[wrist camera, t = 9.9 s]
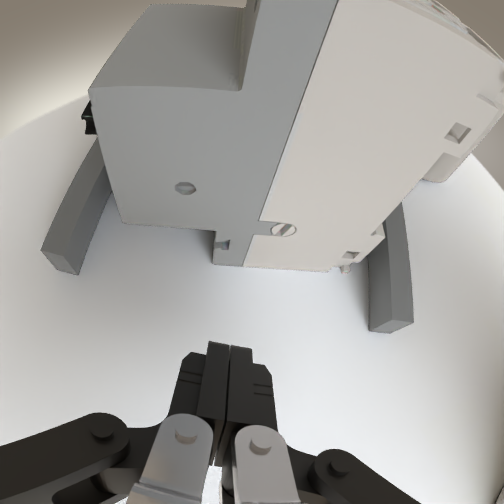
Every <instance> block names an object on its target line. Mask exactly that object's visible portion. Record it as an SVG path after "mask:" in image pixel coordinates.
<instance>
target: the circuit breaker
mask: <svg viewBox="0 0 504 504" xmlns="http://www.w3.org/2000/svg"><path fill="white" fill-rule="evenodd" d="M503 86H504V60H503V59H502V58H501V57H500V56H499V55H498V54H497V53H496V52H495V51H494V50H493V49H492V48H491V47H490V46H489V45H488V44H487V43H486V42H485V41H484V40H483V39H482V38H481V37H480V36H478V35H477V34H476V33H475V32H474V31H473V30H472V29H471V28H469V27H468V26H466V25H464V24H463V23H461V22H460V19H459V18H458V17H456V16H455V15H454V14H453V13H451V12H450V11H449V10H448V9H446V8H445V7H444V6H442V5H441V4H440V3H438V2H437V1H436V0H247V4H246V7H244V8H237V7H226V6H214V5H196V4H151V5H150V6H149V7H148V8H147V9H146V11H145V12H144V13H143V14H142V15H141V17H140V18H139V19H138V20H137V22H136V23H135V24H134V25H133V26H132V28H131V29H130V30H129V32H128V33H127V34H126V36H125V37H124V38H123V39H122V41H121V42H120V43H119V45H118V46H117V47H116V49H115V50H114V52H113V53H112V55H111V56H110V57H109V59H108V60H107V62H106V63H105V64H104V66H103V67H102V69H101V70H100V72H99V73H98V75H97V76H96V78H95V80H94V81H93V83H92V84H91V86H90V88H89V89H88V93H89V97H90V101H89V103H88V104H87V106H86V108H85V110H84V112H83V114H82V116H81V118H82V120H83V119H85V120H86V130H85V134H97V136H98V140H99V144H100V148H101V151H102V155H103V159H104V163H105V166H106V170H107V174H108V177H109V180H110V184H111V187H112V191H113V194H114V197H115V201H116V204H117V207H118V210H119V213H120V216H121V219H122V222H123V223H125V224H136V225H149V226H162V227H175V228H188V229H200V230H212V231H214V248H213V264H214V265H227V266H241V267H256V268H271V269H286V270H301V271H318V272H329V270H330V269H331V268H332V267H341V273H348V272H350V264H351V263H352V262H355V263H359V262H360V261H361V260H362V259H363V258H364V257H366V256H367V255H368V254H369V253H370V252H371V251H372V250H373V249H374V248H375V247H376V246H377V245H378V244H379V243H380V242H381V241H382V240H383V239H384V238H385V234H384V229H383V225H382V222H383V221H384V220H385V219H386V218H387V217H388V216H389V215H390V213H391V212H392V211H393V210H394V209H395V208H396V207H397V206H398V205H399V204H400V202H401V201H402V200H403V199H404V198H405V197H406V196H407V195H408V193H409V192H410V191H411V190H412V189H413V188H414V187H415V185H416V184H417V183H418V182H419V181H420V180H421V179H422V177H423V176H424V175H425V174H426V173H427V172H428V170H429V169H430V168H431V167H432V166H433V164H434V163H435V162H436V161H437V160H438V158H439V157H440V156H441V155H442V154H443V152H445V153H447V154H450V155H453V156H456V157H458V158H461V157H462V156H463V154H464V153H465V152H466V151H467V150H468V149H469V148H470V146H471V145H472V144H473V143H474V142H475V140H476V139H477V138H478V137H479V136H480V135H481V133H482V132H483V131H484V130H485V129H486V127H487V126H488V125H489V124H490V122H491V121H492V120H493V118H494V117H495V115H496V114H497V112H498V110H499V109H498V108H497V106H496V105H495V104H494V101H495V100H496V98H497V96H498V95H499V93H500V91H501V89H502V88H503ZM456 122H457V123H460V124H462V125H464V126H466V127H468V128H467V129H466V130H465V132H464V133H463V134H462V135H461V137H460V138H459V139H458V137H457V135H456V134H455V132H454V130H453V128H452V127H453V125H454V124H455V123H456ZM347 251H350V252H357V253H350V252H347Z"/></svg>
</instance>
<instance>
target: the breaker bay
mask: <svg viewBox="0 0 504 504" xmlns="http://www.w3.org/2000/svg"><path fill="white" fill-rule="evenodd" d="M111 191H112V187H111V184H110V180H109V177H108V174H107V170H106V166H105V163H104V159H103V155H102V151H101V148H100V144H99V140H98V137H97V139H96V141H95V142H94V144H93V146H92V147H91V149H90V151H89V153H88V154H87V156H86V158H85V159H84V161H83V163H82V165H81V167H80V168H79V170H78V172H77V174H76V176H75V178H74V179H73V181H72V183H71V185H70V187H69V189H68V191H67V193H66V195H65V197H64V199H63V201H62V203H61V205H60V207H59V209H58V211H57V213H56V216H55V218H54V220H53V222H52V224H51V227H50V229H49V231H48V233H47V236H46V238H45V241H44V243H43V245H42V248H41V251H42V253H43V254H44V255H45V256H46V257H47V259H48V260H49V261H50V262H51V263H52V264H53V266H54V267H55V268H56V269H57V270H60V271H64V272H67V273H71V274H75V275H78V274H79V271H80V269H81V266H82V263H83V260H84V257H85V255H86V252H87V249H88V247H89V244H90V241H91V239H92V236H93V234H94V231H95V229H96V226H97V224H98V221H99V219H100V216H101V214H102V212H103V209H104V207H105V205H106V202H107V200H108V198H109V196H110V193H111ZM382 225H383V229H384V234H385V238H384V239H383V240H382V241H381V242H380V243H379V244H378V245H377V246H376V247H375V248H374V249H373V250H372V251H371V252H370V253H369V254H368V260H369V331H372V332H380V333H389V334H390V333H392V332H394V331H397V330H399V329H401V328H403V327H405V326H408V325H410V324H412V323H414V318H413V297H412V283H411V271H410V260H409V251H408V242H407V234H406V227H405V220H404V213H403V207H402V201H401V202H400V204H399V205H398V206H397V207H396V208H395V209H394V210H393V211H392V212H391V213H390V215H389V216H388V217H387V218H386V219H385V220H384V221H383V222H382Z"/></svg>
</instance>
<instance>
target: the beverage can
mask: <svg viewBox="0 0 504 504" xmlns="http://www.w3.org/2000/svg"><path fill="white" fill-rule="evenodd" d="M494 104H495V105H496V106H497V108H498V109H499V110H498V112H497V114H496V115H495V117H494V118H493V120H492V121H491V122H490V124H489V125H488V126H487V127H486V129H485V130H484V131H483V132H482V133H481V135H480V136H479V137H478V138H477V139H476V140H475V142H474V143H473V144H472V145H471V146H470V148H469V149H468V150H467V151H466V152H465V153H464V154H463V156H462V157H461V158H458V157H456V156H453V155H450V154H447V153H445V152H443V154H442V155H441V156H440V157H439V158H438V160H437V161H436V162H435V163H434V164H433V166H432V167H431V168H430V169H429V170H428V172H427V173H426V174H425V175H424V176H423V177H422V179H424V180H427V181H431V182H435V183H441V182H444V181H446V180H447V179H448V178H449V177H450V176H451V174H452V173H453V172H454V171H455V170H456V169H457V168H458V167H459V166H460V165H461V163H462V162H463V161H464V160H465V159H466V158H467V157H468V155H469V154H470V153H471V152H472V151H473V150H474V149H475V147H476V146H477V145H478V144H479V143H480V142H481V140H482V139H483V138H484V137H485V136H486V135H487V133H488V132H489V131H490V130H491V129H492V127H493V126H494V125H495V123H496V122H497V121H498V120H499V119H500V117H501V116H502V115H503V114H504V86H503V88H502V89H501V91H500V93H499V95H498V96H497V98H496V100H495V101H494ZM452 128H453V130H454V132H455V134H456V135H457V137H458V139H459V138H460V137H461V135H462V134H463V133H464V132H465V130H466V129H467V128H468V127H466V126H464V125H462V124H460V123H457V122H456V123H455V124H454V125H453V127H452Z"/></svg>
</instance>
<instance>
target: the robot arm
mask: <svg viewBox="0 0 504 504" xmlns="http://www.w3.org/2000/svg"><path fill="white" fill-rule="evenodd" d="M229 348H230V350H229ZM272 387H273V384H272V375H271V374H270V372H269V371H268V369H267V368H266V366H265V365H261V364H255V363H253V358H252V349H251V348H245V347H239V346H233V345H231V346H230V345H228V344H222V343H217V342H212V341H209V343H208V348H207V353H206V355H204V354H199V353H194V352H190V353H189V354H188V355H187V356H186V357H185V358H184V359H183V360H182V364H181V367H180V372H179V375H178V379H177V382H176V386H175V390H174V394H173V398H172V402H171V405H170V409H169V413H168V415H167V417H166V418H165V419H164V420H163V421H162V422H161V423H159V424H157V425H155V426H152V427H147V428H127V426H126V425H125V423H124V422H123V421H122V420H120V419H119V418H118V417H116V416H114V415H111V414H107V413H92V414H88V415H86V416H83V417H81V418H78V419H76V420H73V421H71V422H68V423H65V424H63V425H60V426H58V427H55V428H52V429H49V430H47V431H44V432H41V433H38V434H36V435H33V436H30V437H27V438H24V439H21V440H18V441H15V442H12V443H9V444H6V445H3V446H0V504H114V503H116V502H118V501H120V500H122V499H124V498H126V497H127V496H128V499H127V502H126V504H201V501H202V500H201V498H202V493H203V488H204V483H205V478H206V474H207V471H208V467H209V465H211V466H212V464H213V460H214V457H215V462H214V466H219V467H222V478H221V481H220V484H219V504H421V503H419V502H418V501H416V500H415V499H413V498H412V497H410V496H409V495H407V494H406V493H404V492H403V491H401V490H400V489H399V488H397V487H396V486H394V485H393V484H391V483H390V482H389V481H387V480H386V479H384V478H383V477H382V476H380V475H379V474H377V473H376V472H375V471H373V470H372V469H371V468H369V467H368V466H367V465H365V464H364V463H363V462H361V461H360V460H359V459H357V458H356V457H355V456H353V455H352V454H350V453H348V452H346V451H343V450H339V449H329V450H326V451H323V452H321V453H320V454H319V455H318V456H313V455H310V454H307V453H303V452H300V451H297V450H295V449H293V448H291V447H290V446H288V445H287V444H286V442H285V440H284V438H283V437H282V436H281V435H280V434H279V433H278V429H277V420H276V411H275V402H274V397H273V396H274V393H273V388H272ZM496 504H504V487H503V489H502V491H501V493H500V495H499V497H498V499H497V502H496Z"/></svg>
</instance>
